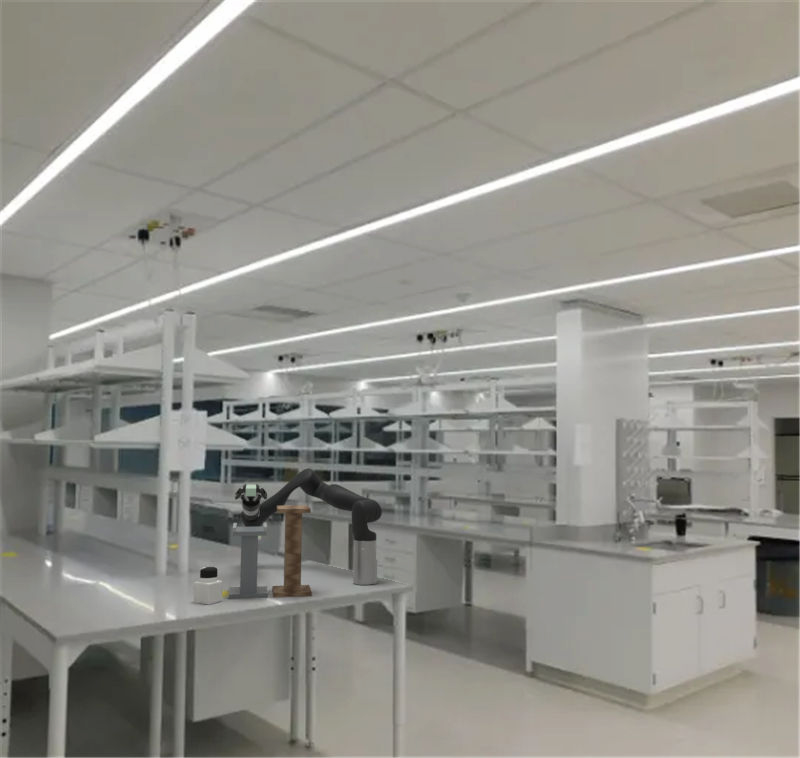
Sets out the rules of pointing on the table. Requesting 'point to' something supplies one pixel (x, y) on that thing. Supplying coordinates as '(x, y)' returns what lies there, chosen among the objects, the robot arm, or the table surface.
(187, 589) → the table surface
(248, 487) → the slide box
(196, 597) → the medicine bottle
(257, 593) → the gray pedestal stand
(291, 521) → the brown pedestal stand
